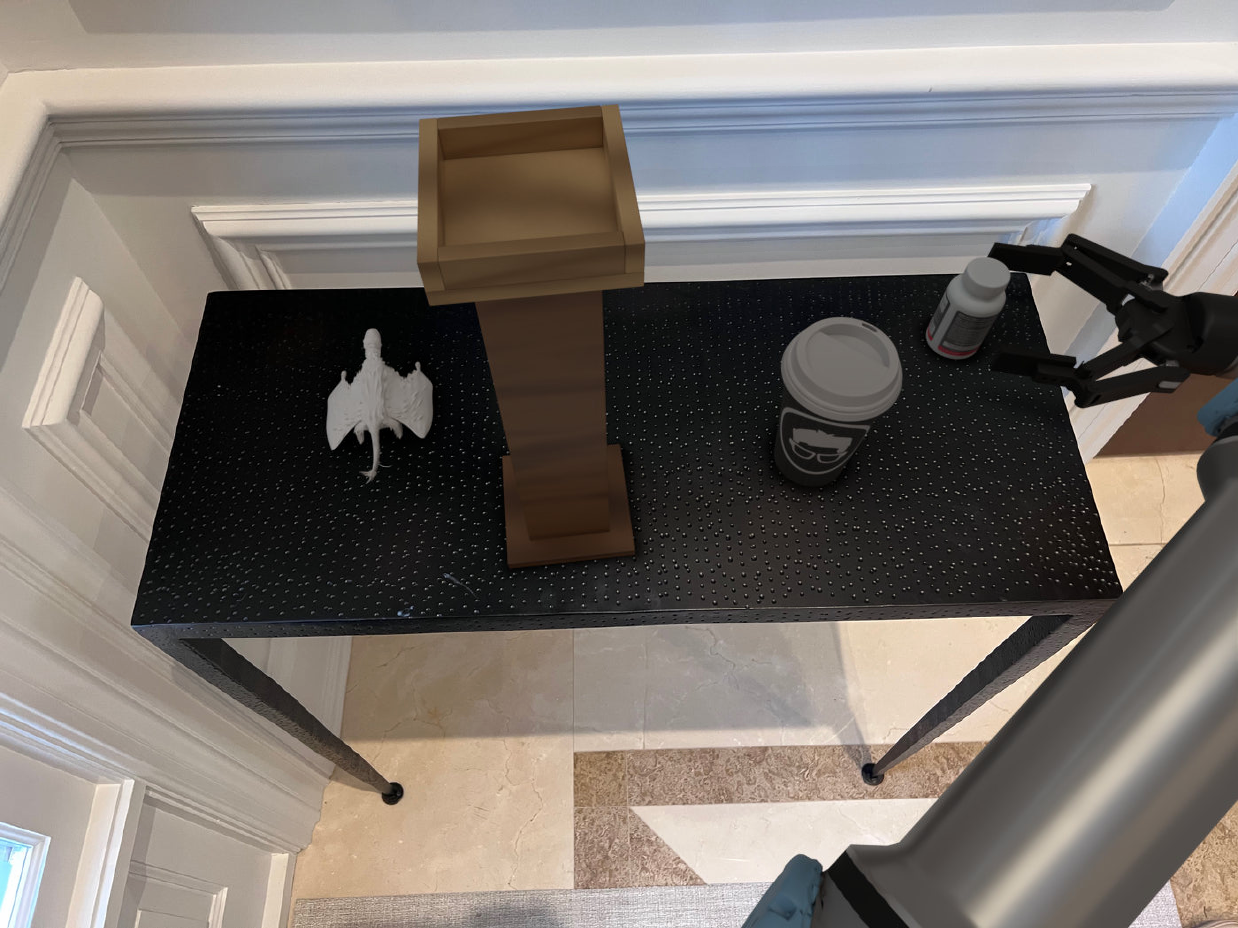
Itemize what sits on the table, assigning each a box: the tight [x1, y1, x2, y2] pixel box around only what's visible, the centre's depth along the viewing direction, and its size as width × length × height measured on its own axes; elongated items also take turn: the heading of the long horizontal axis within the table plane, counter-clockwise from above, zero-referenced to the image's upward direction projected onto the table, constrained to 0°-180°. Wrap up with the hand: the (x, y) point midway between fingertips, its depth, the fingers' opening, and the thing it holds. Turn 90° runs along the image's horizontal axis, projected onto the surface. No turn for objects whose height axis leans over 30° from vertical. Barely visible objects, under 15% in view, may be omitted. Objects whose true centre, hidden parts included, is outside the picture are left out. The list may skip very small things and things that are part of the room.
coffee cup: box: [773, 316, 903, 488], centre depth 68 cm, size 10×10×15 cm
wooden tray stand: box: [416, 103, 646, 569], centre depth 56 cm, size 11×11×36 cm
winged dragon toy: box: [326, 328, 434, 485], centre depth 75 cm, size 18×10×4 cm, turn 9°
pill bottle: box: [925, 256, 1011, 360], centre depth 77 cm, size 5×5×10 cm
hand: (992, 304), depth 76 cm, fingers open, 13 cm apart
